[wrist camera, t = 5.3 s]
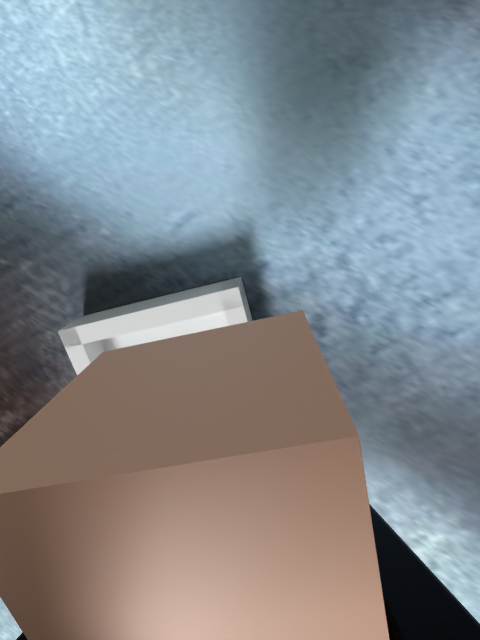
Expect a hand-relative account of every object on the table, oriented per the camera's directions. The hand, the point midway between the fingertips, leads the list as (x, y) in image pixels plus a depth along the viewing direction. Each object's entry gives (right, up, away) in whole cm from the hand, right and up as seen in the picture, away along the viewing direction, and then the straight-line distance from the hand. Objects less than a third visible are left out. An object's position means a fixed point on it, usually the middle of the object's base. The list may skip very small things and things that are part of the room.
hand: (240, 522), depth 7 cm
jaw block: (0, +1, +1) cm, 1 cm away
